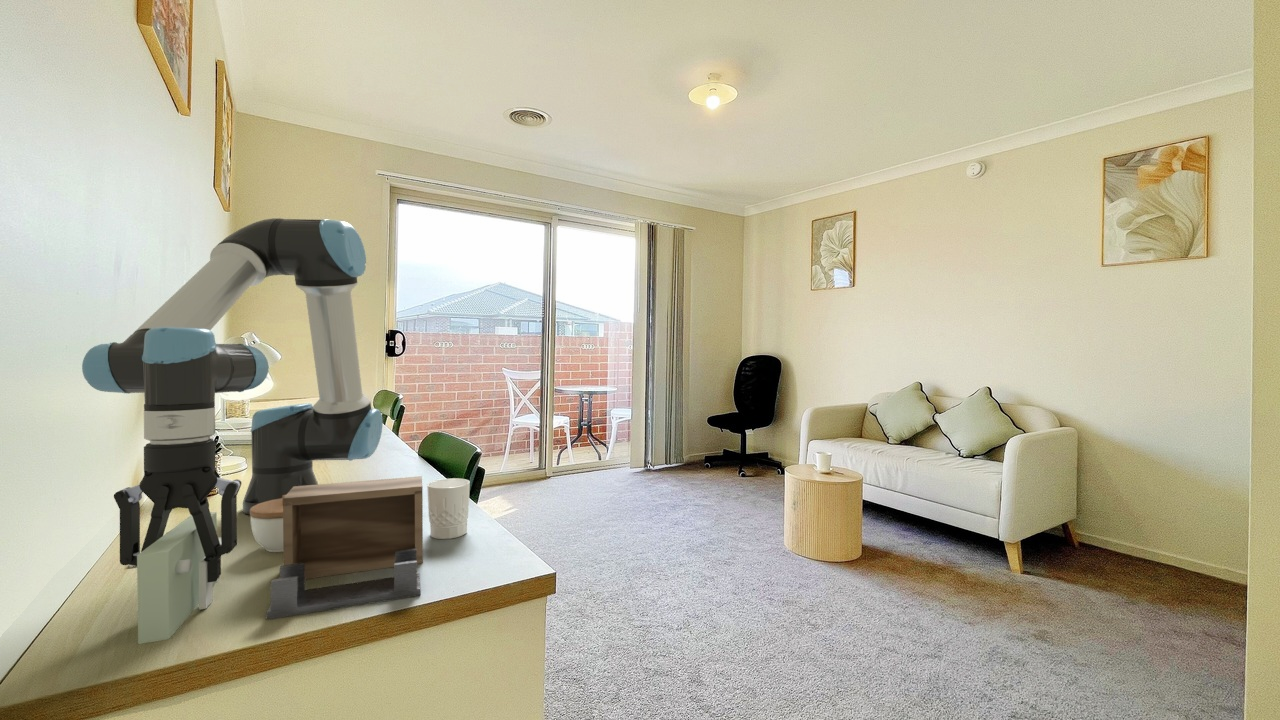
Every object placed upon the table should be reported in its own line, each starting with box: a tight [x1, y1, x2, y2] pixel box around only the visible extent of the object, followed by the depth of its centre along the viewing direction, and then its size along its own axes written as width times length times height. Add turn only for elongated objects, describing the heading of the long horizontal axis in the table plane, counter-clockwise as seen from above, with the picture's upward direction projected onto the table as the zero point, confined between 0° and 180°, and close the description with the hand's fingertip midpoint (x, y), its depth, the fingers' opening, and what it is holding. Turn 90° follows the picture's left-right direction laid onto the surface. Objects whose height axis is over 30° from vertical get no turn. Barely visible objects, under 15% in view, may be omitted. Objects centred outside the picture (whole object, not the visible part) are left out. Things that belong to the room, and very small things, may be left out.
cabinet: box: [282, 475, 424, 580], centre depth 91 cm, size 8×20×13 cm, turn 113°
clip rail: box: [266, 548, 422, 621], centre depth 79 cm, size 6×19×5 cm, turn 113°
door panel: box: [136, 511, 218, 645], centre depth 75 cm, size 18×4×11 cm, turn 23°
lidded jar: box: [249, 495, 286, 553], centre depth 99 cm, size 11×11×9 cm
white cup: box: [426, 477, 471, 540], centre depth 106 cm, size 8×8×10 cm
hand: (181, 608), depth 75 cm, fingers open, 5 cm apart
